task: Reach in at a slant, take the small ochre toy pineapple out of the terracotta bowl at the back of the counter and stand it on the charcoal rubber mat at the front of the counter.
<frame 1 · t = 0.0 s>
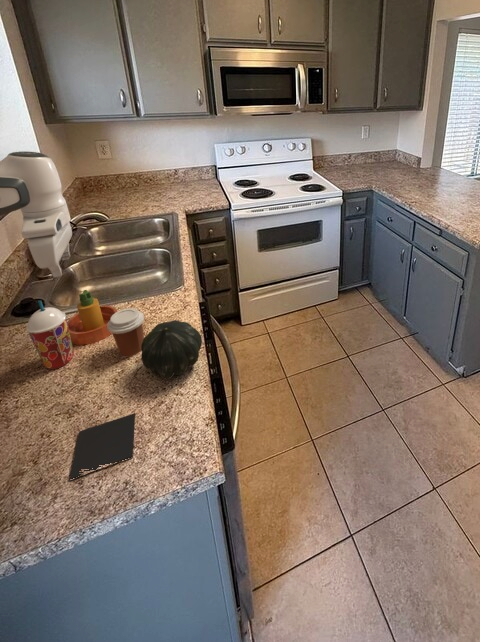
hand: (62, 266, 92), 28 cm above the counter, tool pointing down, fingers open, 8 cm apart
bowl: (95, 330, 110), on the counter
pineapple: (94, 329, 110), point 1 cm above the counter, touching bowl
smoothie: (60, 362, 98), on the counter
mat: (105, 444, 76), on the counter
squash: (176, 365, 97), on the counter
coffee cup: (133, 350, 102), on the counter
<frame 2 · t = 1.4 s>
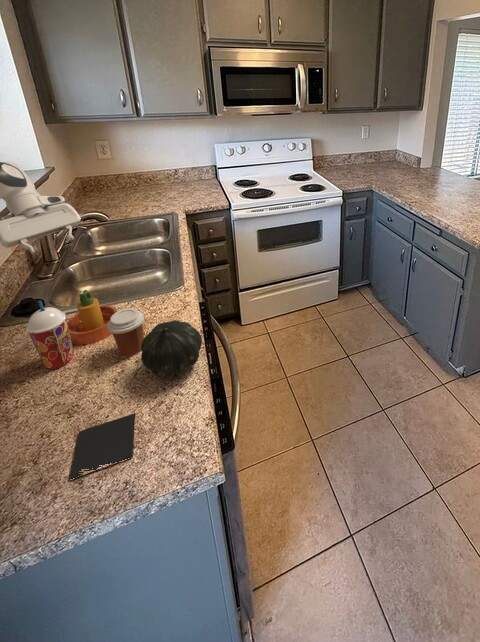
hand: (54, 246, 107), 26 cm above the counter, tool tilted 45°, fingers open, 8 cm apart
nothing on the counter moved.
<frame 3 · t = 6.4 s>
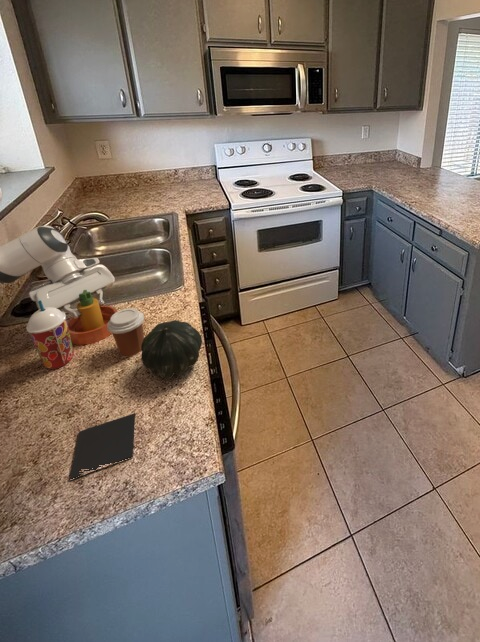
hand: (90, 311, 107), 8 cm above the counter, tool tilted 45°, fingers closed on pineapple, 5 cm apart
pineapple: (94, 329, 110), point 1 cm above the counter, touching bowl, gripper
everything else where it was.
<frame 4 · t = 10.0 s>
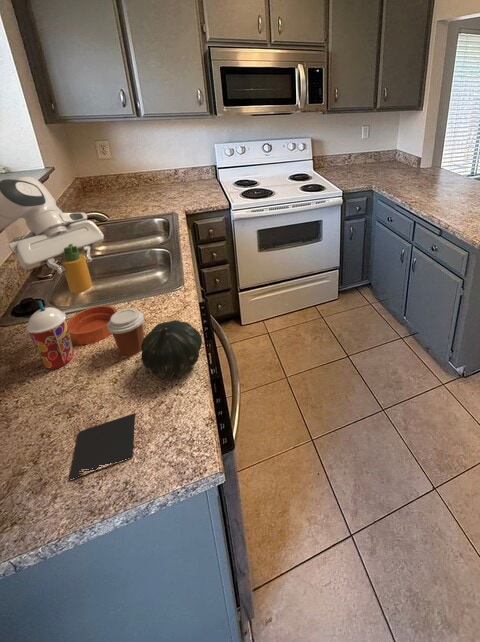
hand: (76, 267, 99), 24 cm above the counter, tool tilted 45°, fingers closed on pineapple, 5 cm apart
pineapple: (81, 288, 102), point 17 cm above the counter, touching gripper
everything else where it was.
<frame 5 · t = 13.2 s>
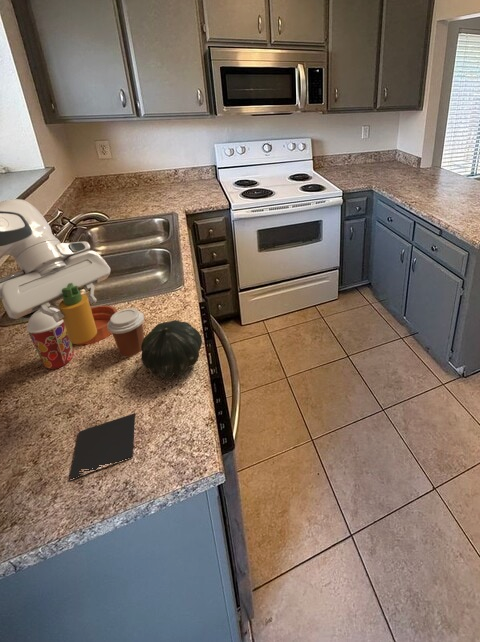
hand: (77, 311, 80), 24 cm above the counter, tool tilted 45°, fingers closed on pineapple, 5 cm apart
pineapple: (83, 335, 83), point 17 cm above the counter, touching gripper
everything else where it was.
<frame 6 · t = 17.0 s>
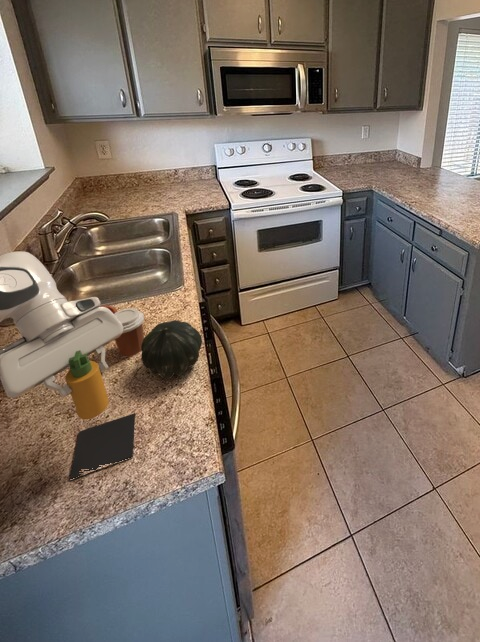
hand: (87, 382, 69), 18 cm above the counter, tool tilted 45°, fingers closed on pineapple, 5 cm apart
pineapple: (93, 407, 72), point 11 cm above the counter, touching gripper
everything else where it was.
when the fingers open (7 cm above the counter, at t = 20.3 s): pineapple stays where it is, resting on mat.
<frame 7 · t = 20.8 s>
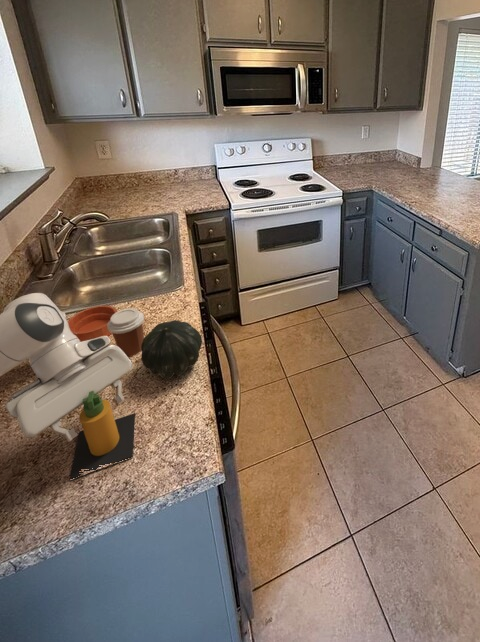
hand: (98, 420, 73), 8 cm above the counter, tool tilted 45°, fingers open, 8 cm apart
pineapple: (105, 443, 76), resting on mat
everything else where it was.
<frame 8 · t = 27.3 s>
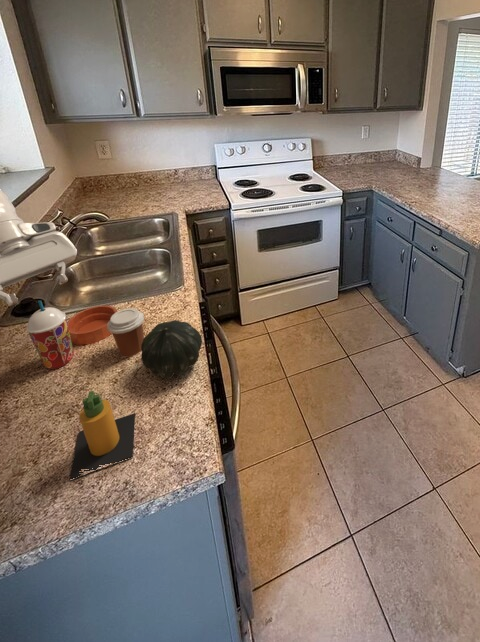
hand: (40, 292, 78), 29 cm above the counter, tool tilted 45°, fingers open, 8 cm apart
nothing on the counter moved.
at the end: pineapple inside the target area on the mat (0.1 cm from its centre), point 0.5 cm above the mat's base; pineapple tilted 0°; the gripper is holding nothing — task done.
